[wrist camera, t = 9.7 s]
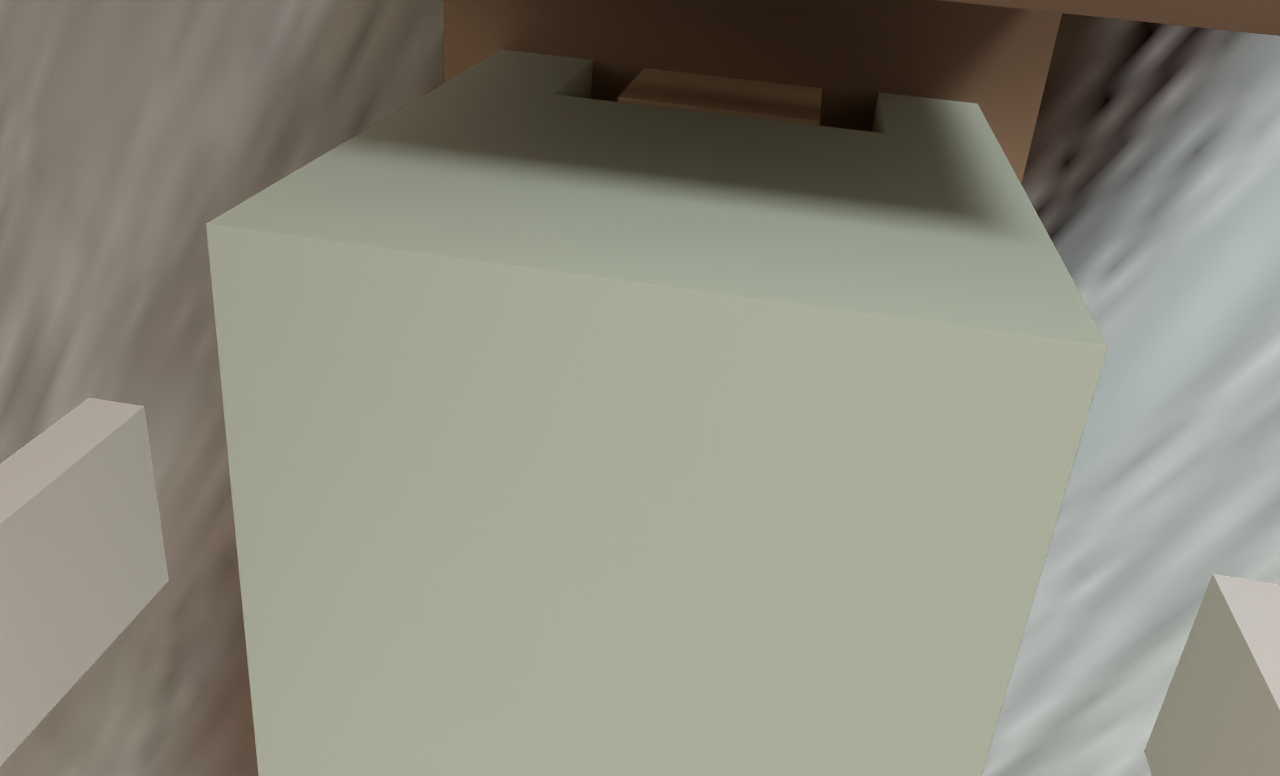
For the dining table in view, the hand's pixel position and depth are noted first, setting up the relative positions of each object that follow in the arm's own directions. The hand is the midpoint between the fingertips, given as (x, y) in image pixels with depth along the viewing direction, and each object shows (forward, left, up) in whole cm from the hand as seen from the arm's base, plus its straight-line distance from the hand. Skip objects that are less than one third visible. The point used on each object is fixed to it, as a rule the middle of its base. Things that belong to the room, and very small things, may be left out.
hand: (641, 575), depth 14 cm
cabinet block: (0, 0, -8) cm, 8 cm away
